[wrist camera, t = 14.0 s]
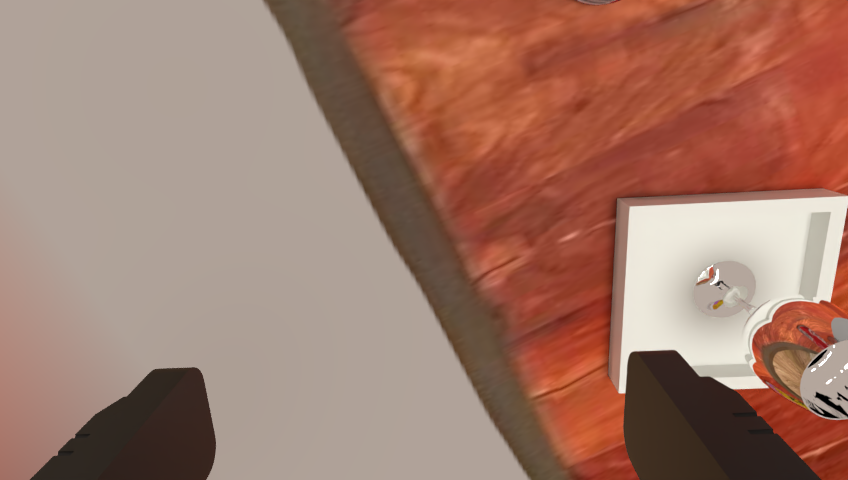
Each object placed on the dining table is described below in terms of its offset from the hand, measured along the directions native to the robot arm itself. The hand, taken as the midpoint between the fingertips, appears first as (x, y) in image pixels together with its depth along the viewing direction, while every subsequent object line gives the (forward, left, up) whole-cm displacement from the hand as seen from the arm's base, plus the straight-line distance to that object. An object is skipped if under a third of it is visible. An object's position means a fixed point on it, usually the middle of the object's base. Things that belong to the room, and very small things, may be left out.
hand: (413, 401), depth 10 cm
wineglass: (+10, +21, -28) cm, 36 cm away
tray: (+10, +20, -28) cm, 36 cm away
